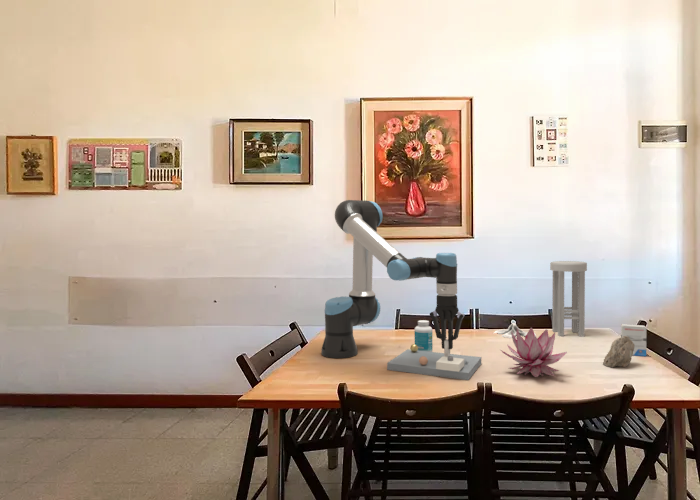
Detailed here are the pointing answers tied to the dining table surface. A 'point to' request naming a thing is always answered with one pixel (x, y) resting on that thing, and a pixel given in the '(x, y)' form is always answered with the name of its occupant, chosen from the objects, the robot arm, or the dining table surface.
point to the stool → (577, 296)
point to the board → (432, 364)
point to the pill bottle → (423, 336)
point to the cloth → (514, 329)
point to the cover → (450, 363)
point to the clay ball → (423, 360)
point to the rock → (620, 352)
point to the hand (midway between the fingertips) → (447, 357)
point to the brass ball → (414, 347)
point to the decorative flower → (534, 353)
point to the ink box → (636, 337)
